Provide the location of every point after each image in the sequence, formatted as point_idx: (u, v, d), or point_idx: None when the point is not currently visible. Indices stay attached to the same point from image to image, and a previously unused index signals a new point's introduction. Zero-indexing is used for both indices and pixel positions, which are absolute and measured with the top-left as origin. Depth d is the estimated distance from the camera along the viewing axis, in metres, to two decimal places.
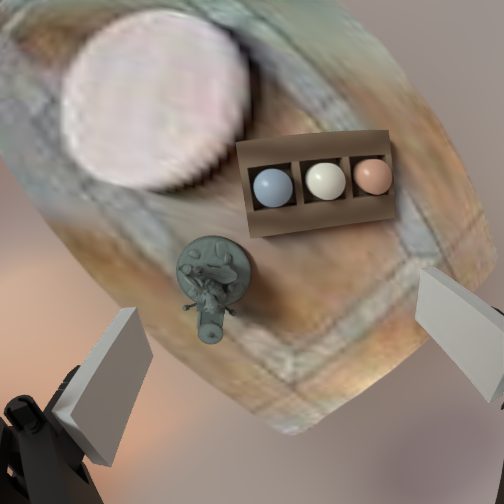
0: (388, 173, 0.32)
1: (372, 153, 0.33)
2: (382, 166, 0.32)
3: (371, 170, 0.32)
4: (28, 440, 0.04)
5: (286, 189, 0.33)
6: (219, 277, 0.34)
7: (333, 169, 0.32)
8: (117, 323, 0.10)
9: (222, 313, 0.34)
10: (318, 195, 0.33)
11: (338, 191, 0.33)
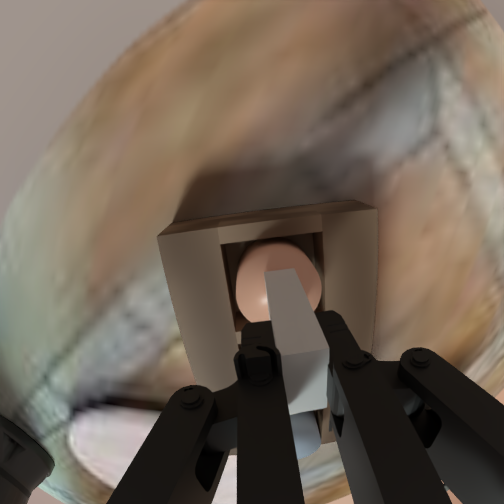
0: (269, 262, 0.14)
1: (221, 279, 0.16)
2: (252, 280, 0.14)
3: (264, 307, 0.15)
4: (252, 392, 0.07)
5: (297, 436, 0.17)
6: None
7: None
8: (273, 282, 0.13)
9: None
10: None
11: None
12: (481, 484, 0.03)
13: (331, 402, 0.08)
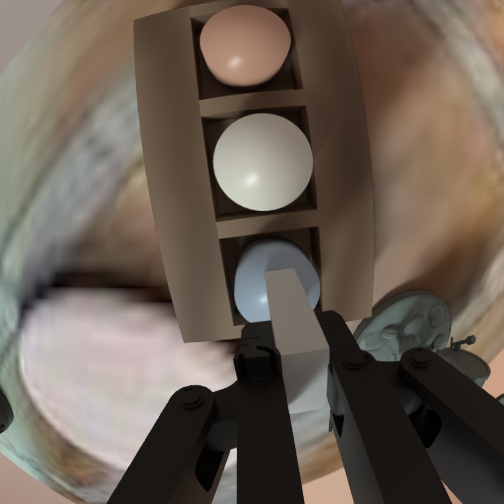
0: (234, 12, 0.10)
1: (188, 45, 0.12)
2: (217, 26, 0.11)
3: (229, 51, 0.11)
4: (252, 392, 0.07)
5: (283, 264, 0.14)
6: None
7: (229, 148, 0.12)
8: (273, 282, 0.13)
9: (475, 380, 0.14)
10: (300, 188, 0.13)
11: (290, 133, 0.12)
12: (481, 484, 0.03)
13: (331, 402, 0.08)
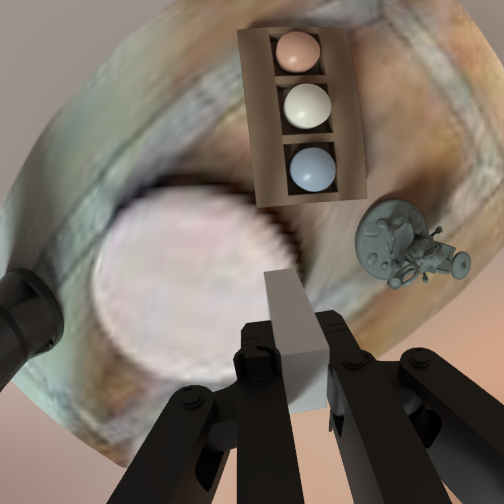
0: (293, 35, 0.23)
1: (268, 48, 0.24)
2: (285, 41, 0.23)
3: (291, 54, 0.24)
4: (252, 392, 0.07)
5: (316, 154, 0.27)
6: (406, 242, 0.27)
7: (293, 97, 0.24)
8: (273, 282, 0.13)
9: (442, 245, 0.26)
10: (325, 117, 0.25)
11: (320, 93, 0.24)
12: (481, 484, 0.03)
13: (331, 402, 0.08)
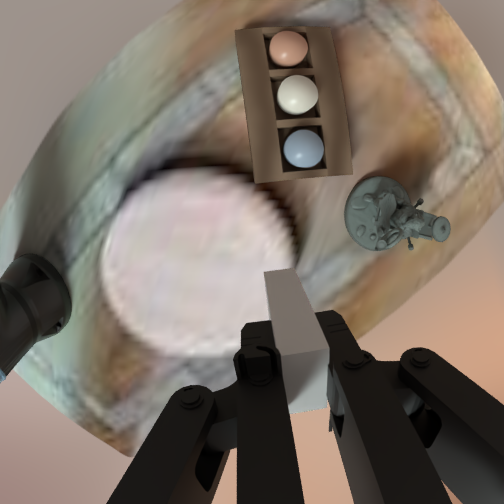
0: (284, 34, 0.26)
1: (263, 46, 0.28)
2: (277, 39, 0.27)
3: (283, 50, 0.27)
4: (252, 392, 0.07)
5: (306, 135, 0.30)
6: (389, 210, 0.31)
7: (285, 86, 0.28)
8: (273, 282, 0.13)
9: (423, 213, 0.30)
10: (313, 103, 0.28)
11: (308, 82, 0.28)
12: (481, 484, 0.03)
13: (331, 402, 0.08)
